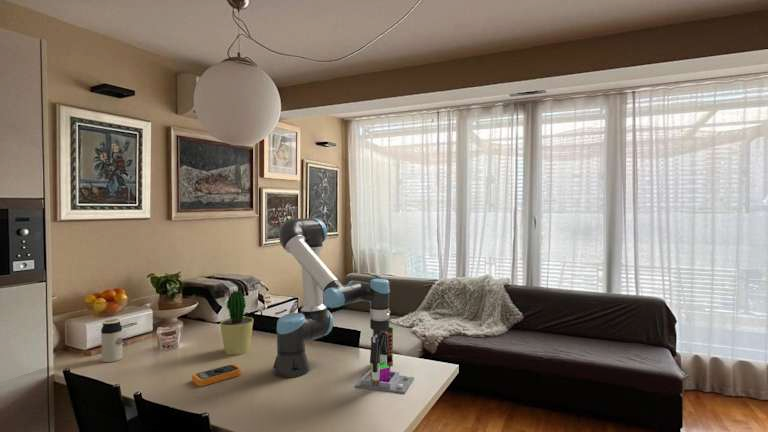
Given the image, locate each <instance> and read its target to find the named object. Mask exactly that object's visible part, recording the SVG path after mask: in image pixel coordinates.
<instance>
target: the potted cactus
mask: <svg viewBox="0 0 768 432" xmlns="http://www.w3.org/2000/svg"><path fill="white" fill-rule="evenodd" d="M243 293H244V292H242V290H241V291H240V290H232V291H231V292H230V293H229V295H228V296H227V297H226V298H227V300H226V304H225V305H226V306H225V309H226V311H228V313H229V314H228V318H224V319H222V320H221V321H220V322H219V324H220V332H221V336H222V343H223V344H222V345H223V349H224V354H225V355H228V356H239V355H243V354H246V352H247V353H248V352H250V349H251V343H252V341H251V340H252V334H253V325H254V321H255V320H254V318H253V317H249V316H245V315H244V314H245V309H246V307H247V304H248V302H246V298H245V297H244V294H243Z"/></svg>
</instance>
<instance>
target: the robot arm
mask: <svg viewBox="0 0 768 432" xmlns="http://www.w3.org/2000/svg"><path fill="white" fill-rule="evenodd" d="M326 226H327V225H326V224H325V223H324V222H323V221H322V220H321V219H319V218H315V217H307V218H303V217H302V218H290V219H287V220H285V221H284V222H283V223H282V224H281V226H280V228H279V230H278V240H279V243H280V245H281V247H282V248H283V249H284V250H285V252H286V253H287V254H291V255H292V256H293V258H294V259H295V260H296V261H297V262H298V264H299V265H300V267H301V281H302V293H303V294H302V295H303V306H302V307H301V309H300V312H293V313H287V314H285V315H283V316H281V317H279V318H278V320H277V322H276V337H277V338H276V346H277V348H276V350H277V351H276V352H277V353H276V356H275V359H274V360H275V361H274V363H273V368H272V373H273V375H274V376H276V377H280V378H295V377H300V376H303V375H305V374H308V372H309V371H310V362H309V359H308V355H307V354H306V343H308V342H310V341H313V340H316V339H321V338H323V337H325V336H327V335H329V334H330V333H331V332H332V330H333V326H334V317H333V315H332V313H331V312H330V311H329V310H328V308H329V309H330V308H331V309H334V308H340V307H342V306H343V307H344V306H345V305H350V304H354V303H358V302H361V301H362V302H365V303H366V302H367V303H370V304H369V306H370V309H369V312H370V313H369V316H370V320H369V325H370V326H369V327H370V329H371V330H372V331H373V330H374V331H375V332H374V335H373V334H372V336H371V337H370V355H369V357H370V358H369V364H370V365H372V380H378V381H379V355H380V363H385V364H386V365H387V355H389V352H387V351H389V346H388V329H389V327H390V319H389V318H390V314H391V310H390V293H391V290H390V281H389V280H388V279H385V278H373V279H371V280H370V282H365V281H359V280H350V281H348V282H347V284H342V283H341V281H339V279H338V278H337V276H336V275H334V274H333V272H332V271H331V270H330V268H328V267H327V265H326V264H325V263H324V261H323V260H322V259H321V249H323V247H324V245H323V243H324V242H325V241H326V239H327V238H328V230H327V227H326ZM380 351H381V354H380ZM386 354H387V355H386Z"/></svg>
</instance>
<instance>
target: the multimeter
mask: <svg viewBox="0 0 768 432" xmlns="http://www.w3.org/2000/svg"><path fill="white" fill-rule="evenodd" d="M241 373H242V367H241V366H239V365H237V364H236V363H235V364H234V363H233V364H232V363H231V364H227V365H224V366H220V367H217V368H211V369H208V370H205V371H199V372H197V373H193V374H192V375H191V381H192V383H193V384H195V385H196V386H197V387H198V388H203V387H205V386H209V385H211V384H214V383H218V382H219V383H220V382H221V381H225V380H229V378H230V379H232V378H233V379H234V378H237V377H239V376H241ZM236 376H237V377H236Z"/></svg>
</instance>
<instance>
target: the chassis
mask: <svg viewBox="0 0 768 432" xmlns="http://www.w3.org/2000/svg"><path fill="white" fill-rule="evenodd" d="M414 380H415V377H414V376H409V375H408V374H405V375H401V374H400V372H399V371H394V370H390V381H389V382H381V381H380V382H379V384H376V383H375V382H374V381H372V380H371V368H370V369H369V370H368V371H366V373H365V374H363V376H362V377H361V378H360V379H359V380H358V381H357V382H356V383H355V384H354V388H359V389H366V390H373V391H381V392H390V393H396V394H406V393H407V391H408V389H409V388H410V386H411V385H412V383H413V382H414Z"/></svg>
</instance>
